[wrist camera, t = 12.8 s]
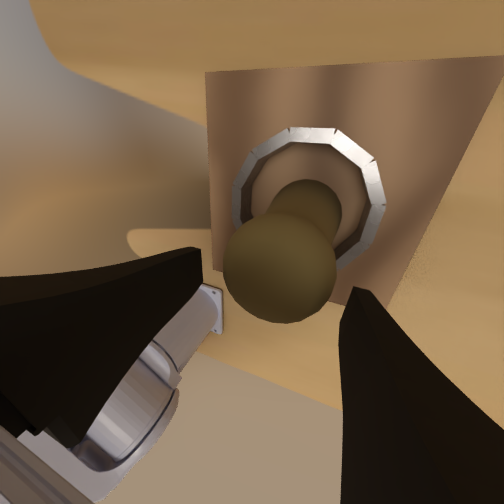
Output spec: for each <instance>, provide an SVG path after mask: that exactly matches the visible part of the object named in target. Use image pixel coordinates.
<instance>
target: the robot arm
mask: <svg viewBox="0 0 504 504" xmlns="http://www.w3.org/2000/svg"><path fill="white" fill-rule="evenodd" d="M202 283H203V272H202V258H201V249H198V248H194V247H185V248H180V249H176V250H172V251H168V252H164V253H161V254H157V255H153V256H149V257H146V258H141V259H138V260H133V261H129V262H125V263H120V264H116V265H111V266H105V267H99V268H94V269H87V270H80V271H71V272H63V273H55V274H43V275H30V276H29V275H28V276H11V277H0V504H95V503H96V502H99V501H101V500H103V499H105V498H106V497H107V495H108V494H109V493H110V491H112V490H114V489H115V488H116V487H117V485H118V484H119V483H120V482H121V480H122V479H123V478H124V476H125V475H126V474H127V473H128V472H129V471H130V470H131V468H132V467H133V466H134V465H135V464H136V463H137V462H138V461H140V459H142V458H143V457H144V456H145V455H146V454H147V453H148V451H149V450H150V449H151V448H152V447H153V445H154V444H155V443H156V442H157V440H158V439H159V438H160V436H161V435H162V433H163V432H164V431H165V429H166V427H167V425H168V424H169V422H170V420H171V419H172V417H173V415H174V413H175V411H176V408H177V405H178V398H179V390H178V389H177V388H176V386H177V385H178V383H179V382H180V381H181V379H182V377H181V376H180V375H179V374H180V372H181V371H182V370H183V368H184V367H185V365H186V364H187V362H188V361H189V360H190V358H191V357H192V355H193V354H194V352H195V351H196V350H197V348H198V347H199V346H200V344H201V343H202V341H203V340H204V339H205V337H206V336H207V334H208V333H209V332H210V331H212V332H214V333H217V334H222V332H223V313H222V291H221V290H220V289H217V288H214V287H211V286H207V285H204V284H202ZM214 291H215V292H214ZM338 346H339V362H340V376H341V390H342V404H343V443H342V445H343V446H342V475H341V500H340V504H504V430H503V429H502V428H501V427H500V426H499V425H498V424H497V423H495V422H494V421H493V420H492V419H491V418H490V417H489V416H488V415H486V414H485V413H484V412H483V411H482V410H481V409H480V408H479V407H478V406H477V405H475V404H474V403H473V402H472V401H471V400H470V399H469V398H468V397H467V396H466V395H465V394H464V393H463V392H462V391H461V390H460V389H459V388H458V387H457V386H456V385H454V384H453V383H452V382H451V381H450V380H449V379H448V378H447V377H446V376H445V375H444V374H443V373H442V372H441V371H440V370H439V369H438V368H437V367H436V366H435V365H434V364H433V363H432V362H431V361H430V360H429V359H428V357H427V356H426V355H425V354H424V353H423V352H422V351H421V350H420V349H419V348H418V347H417V346H416V345H415V344H414V342H413V341H412V340H411V339H410V338H409V337H408V336H407V334H406V333H405V332H404V331H403V330H402V329H401V328H400V326H399V325H398V324H397V323H396V322H395V320H394V319H393V318H392V317H391V315H390V314H389V313H388V312H387V311H386V309H385V308H384V307H383V306H382V304H381V303H380V302H379V301H378V299H377V298H376V297H375V296H374V294H373V293H372V292H371V291H370V290H367V289H363V288H359V287H355V286H353V288H352V290H351V293H350V296H349V299H348V301H347V304H346V307H345V310H344V312H343V315H342V318H341V320H340V326H339V343H338Z"/></svg>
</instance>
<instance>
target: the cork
mask: <svg viewBox="0 0 504 504" xmlns="http://www.w3.org/2000/svg"><path fill="white" fill-rule="evenodd" d="M341 219H342V207H341V203H340V201H339V198H338V196H337V194H336V193H335V192H334V191H333V190H332V189H331V188H330V187H329V186H328V185H326V184H324V183H322V182H320V181H317V180H310V179H302V180H297V181H293V182H291V183H289V184H288V185H286V186H284V187H283V188H282V189H281V190H280V191H279V192H278V194H277V195H276V196H275V197H274V199H273V201H272V202H271V204H270V206H269V207H268V209H267V211H266V213H265V214H261V215H258V216H256V217H254V218H253V219H251V220H249V221H247V222H245V223H244V224H243V225H241V226H240V227H239V228H238V229H237V231H236V232H235V233H234V234H233V235H232V237H231V238H230V240H229V242H228V244H227V246H226V249H225V252H224V255H223V277H224V280H225V283H226V286H227V289H228V291H229V292H230V294H231V295H232V297H233V298H234V300H235V301H236V302H237V303H238V304H239V305H240V306H241V307H242V308H243V309H245V310H246V311H247V312H249V313H251V314H252V315H254V316H256V317H257V318H260V319H263V320H266V321H269V322H272V323H284V324H288V323H293V322H299V321H302V320H303V319H305V318H307V317H309V316H311V315H313V314H314V313H316V312H318V311H319V310H320V309H321V308H322V307H323V306H324V304H325V303H326V302H327V301H328V300H329V298H330V296H331V294H332V292H333V288H334V285H335V282H336V279H337V269H336V258H335V252H334V250H333V248H332V246H331V245H332V243H333V240H334V238H335V236H336V233H337V231H338V229H339V226H340V222H341Z"/></svg>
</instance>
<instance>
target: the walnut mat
mask: <svg viewBox="0 0 504 504" xmlns="http://www.w3.org/2000/svg"><path fill="white" fill-rule="evenodd" d="M503 75H504V55H503V56H485V57H467V58H449V59H432V60H414V61H396V62H378V63H361V64H343V65H325V66H308V67H290V68H272V69H254V70H237V71H219V72H205V83H206V108H207V133H208V157H209V182H210V208H211V233H212V258H213V270H217V271H220V272H223V255H224V252H225V249H226V246H227V244H228V242H229V240H230V238H231V237H232V235H233V234H234V233H235V232H236V231H237V230H236V228H235V226H234V224H233V222H232V221H233V220H234V219H232V186H233V185H234V184H233V182H234V180H235V178H236V176H237V174H238V173H239V171H240V169H241V167H242V165H243V163H244V162H245V160H246V158H247V156H248V154H249V152H250V151H252V149H253V148H255V147H257V146H258V145H260V144H262V143H263V142H265V141H267V140H268V139H270V138H272V137H273V136H275V135H276V134H278V133H280V132H281V131H283V130H285V129H286V128H289V129H290V127H304V128H335V133H336V132H337V130H339V131H341V132H342V133H343V134H344V135H346V136H347V137H348V138H350V139H351V140H352V141H353V142H355V143H356V144H357V145H358V146H360V147H361V148H362V149H364V150H365V151H366V152H367V153H369V154H370V155H371V156H373V157H374V158H373V159H372V160H376V163H377V167H378V171H379V175H380V179H381V183H382V187H383V191H384V195H385V198H386V202H387V203H385V205H386V209H385V211H384V214H383V216H382V219H381V222H380V224H379V227H378V230H377V232H376V235H375V238H374V240H373V243H372V244H369V245H370V247H369V248H368V249H367V250H365V251H364V252H363V253H362V254H360V255H359V256H358V257H357V258H355V259H354V260H353V261H352V262H350V263H349V264H348V265H347V266H345V267H344V268H343V269H341V270H340V269H339V268H338V271H337V279H336V282H335V285H334V288H333V292H332V294H331V296H330V298H329V300H328V301H329V302H333V303H337V304H340V305H344V306H346V304H347V301H348V299H349V296H350V293H351V290H352V288H353V286H355V287H359V288H363V289H367V290H370V291H371V292H372V293H373V294H374V296H375V297H376V298H377V299H378V301H379V302H380V303H381V304H382V306H383V307H384V308H385V309H386V308H387V306H388V304H389V302H390V300H391V298H392V296H393V294H394V292H395V290H396V288H397V286H398V284H399V282H400V280H401V278H402V277H403V275H404V273H405V271H406V269H407V267H408V265H409V263H410V261H411V259H412V257H413V255H414V253H415V251H416V249H417V247H418V245H419V243H420V241H421V239H422V237H423V235H424V233H425V231H426V229H427V227H428V225H429V223H430V221H431V219H432V217H433V215H434V213H435V211H436V209H437V207H438V205H439V203H440V201H441V199H442V197H443V195H444V193H445V191H446V189H447V187H448V185H449V183H450V181H451V179H452V177H453V175H454V173H455V171H456V169H457V167H458V165H459V163H460V161H461V159H462V157H463V155H464V153H465V151H466V149H467V147H468V145H469V143H470V141H471V139H472V137H473V135H474V133H475V131H476V129H477V127H478V125H479V123H480V121H481V119H482V117H483V115H484V113H485V111H486V109H487V107H488V105H489V103H490V101H491V99H492V97H493V95H494V93H495V91H496V89H497V87H498V85H499V83H500V81H501V79H502V77H503ZM302 179H310V180H317V181H320V182H322V183H324V184H326V185H328V186H329V187H330V188H331V189H332V190H333V191H334V192H335V193H336V194H337V196H338V198H339V201H340V203H341V207H342V219H341V222H340V226H339V229H338V231H337V233H336V236H335V238H334V240H333V243H332V245H331V246H332V248H333V250H334V249H335V248H336V247H337V246H338V245H340V244H341V243H342V242H343V241H344V240H345V239H346V238H347V237H349V236H350V235H351V234H352V233H353V232H354V231H355V230H356V229H357V227H358V224H359V221H360V218H361V215H362V212H363V209H364V205H365V202H366V199H367V198H366V194H365V191H364V187H363V183H362V180H361V176H360V173H359V169H358V166H357V165H355V164H354V163H353V162H352V161H350V160H349V159H348V158H347V157H345V156H344V155H343V154H341V153H340V152H339V151H338V150H336V149H335V148H334V147H333V146H331V145H320V144H302V143H296V144H294V145H293V146H291V147H289V148H287V149H285V150H283V151H282V152H280V153H278V154H276V155H274V156H273V157H271V158H269V159H268V160H267V162H266V163H265V165H264V166H263V168H262V170H261V171H260V173H259V175H258V176H257V178H256V180H255V181H254V183H253V185H252V202H251V213H252V215H253V217H256V216H258V215H261V214H265V213H266V211H267V209H268V207H269V206H270V204H271V202H272V201H273V199H274V197H275V196H276V195H277V194H278V192H279V191H280V190H281V189H282V188H283V187H284V186H286V185H288V184H289V183H291V182H293V181H297V180H302Z"/></svg>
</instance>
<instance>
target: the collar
mask: <svg viewBox="0 0 504 504" xmlns="http://www.w3.org/2000/svg"><path fill="white" fill-rule="evenodd" d="M296 143H302V144H320V145H331V146H333V147H334V148H335V149H336V150H338V151H339V152H340V153H341V154H343V155H344V156H345V157H347V158H348V159H349V160H350V161H352V162H353V163H354V164H355V165H357V166H358V169H359V173H360V176H361V180H362V183H363V187H364V191H365V194H366V198H367V199H366V202H365V205H364V209H363V212H362V215H361V218H360V221H359V224H358V227H357V229H356V230H355V231H354V232H353V233H352V234H351V235H350V236H349V237H347V238H346V239H345V240H344V241H343V242H342V243H341V244H340V245H338V246H337V247H336V248H335V249H334V252H335V258H336V269H337V271H338V268H339V269H340V270H341V269H343V268H344V267H345V266H347V265H348V264H349V263H350V262H352V261H353V260H354V259H355V258H357V257H358V256H359V255H360V254H362V253H363V252H364V251H365V250H367V249H368V248H369V247H370V245H369V244H372V243H373V240H374V238H375V235H376V232H377V230H378V227H379V224H380V222H381V219H382V216H383V214H384V211H385V209H386V205H385V203H387V202H386V198H385V195H384V191H383V187H382V183H381V179H380V175H379V171H378V167H377V163H376V160H372V159H373V158H374V157H373V156H371V155H370V154H369V153H367V152H366V151H365V150H364V149H362V148H361V147H360V146H358V145H357V144H356V143H355V142H353V141H352V140H351V139H350V138H348V137H347V136H346V135H344V134H343V133H342V132H341V131H339V130H337V132H336V133H335V128H304V127H290V129H289V128H286V129H285V130H283V131H281V132H280V133H278V134H276V135H275V136H273V137H272V138H270V139H268V140H267V141H265V142H263V143H262V144H260V145H258V146H257V147H255V148H253V149H252V151H250V152H249V154H248V156H247V158H246V160H245V162H244V163H243V165H242V167H241V169H240V171H239V173H238V174H237V176H236V178H235V180H234V182H233V184H234V185H233V186H232V219H234V220H233V221H232V222H233V224H234V226H235V228H236V230H237V229H238V228H239V227H240V226H241V225H243V224H244V223H245V222H247V221H249V220H251V219H253V218H254V217H253V215H252V213H251V202H252V185H253V183H254V181H255V180H256V178H257V176H258V175H259V173H260V171H261V170H262V168H263V166H264V165H265V163H266V162H267V160H268V159H269V158H271V157H273V156H274V155H276V154H278V153H280V152H282V151H283V150H285V149H287V148H289V147H291V146H293V145H294V144H296Z"/></svg>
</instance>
